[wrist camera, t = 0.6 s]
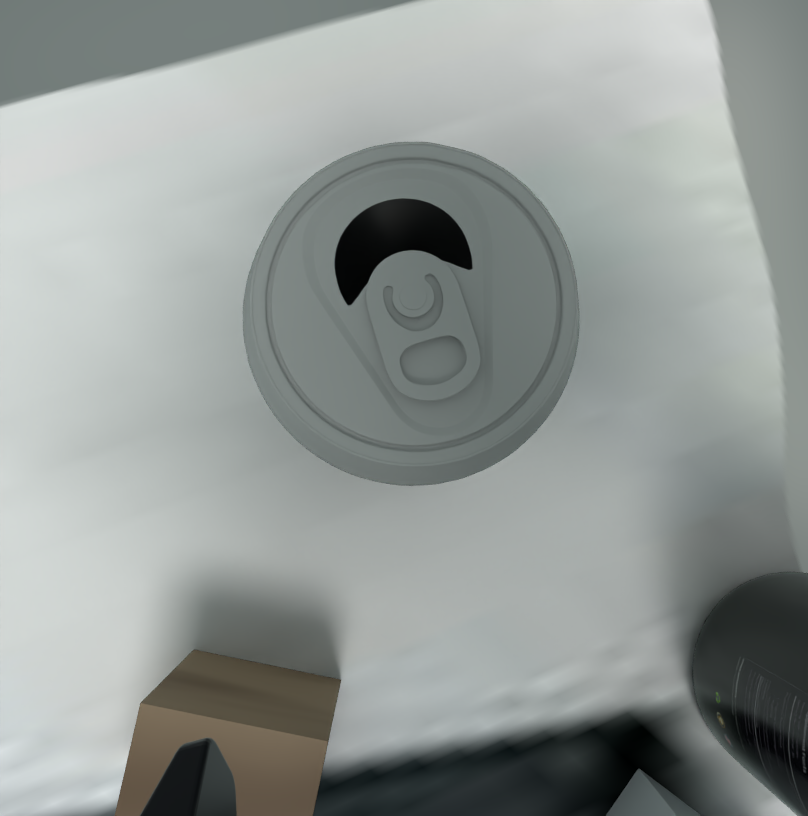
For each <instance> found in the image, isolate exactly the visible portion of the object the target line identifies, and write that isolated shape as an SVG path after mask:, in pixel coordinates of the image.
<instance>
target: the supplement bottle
mask: <svg viewBox="0 0 808 816" xmlns="http://www.w3.org/2000/svg"><path fill="white" fill-rule="evenodd" d="M693 683H694V689H695V695H696V698H697V702H698V705H699V708H700V710H701V713H702V716H703V718H704V720H705V722H706V724H707V725H708V727H709V729H710V730H711V732H712V734H713V735H714V736H715V738H716V739H717V740H718V742H719V743H720V744H721V745H722V746H723V747H724V748H725V749H726V751H727V752H728V753H729V754H730V755H731V756H732V757H733V758H735V759H736V760H737V761H738V762H739V763H740V764H741V765H742V766H743V767H744V768H745V769H746V770H747V771H748V772H750V773H751V774H752V775H753V776H754V777H755V778H756V779H757V780H758V781H760V782H761V783H762V784H763V785H764V786H765V787H766V788H767V789H768V790H770V791H771V792H772V793H773V794H774V795H775V796H776V797H777V798H779V799H780V800H781V801H782V802H783V803H784V804H785V805H786V806H787V807H789V808H790V809H791V810H792V811H793V812H794V813H795V814H796V815H797V816H808V573H800V572H780V573H774V574H769V575H765V576H761V577H758V578H755V579H752V580H750V581H748V582H746V583H744V584H742V585H740V586H739V587H737V588H736V589H734V590H733V591H731V592H730V593H729V594H728V595H726V596H725V597H724V598H723V599H722V600H721V601H720V602H719V603H718V604H717V605H716V607H715V608H714V609H713V610H712V612H711V613H710V615H709V616H708V618H707V619H706V621H705V623H704V625H703V627H702V629H701V632H700V634H699V637H698V640H697V643H696V647H695V652H694V659H693Z"/></svg>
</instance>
